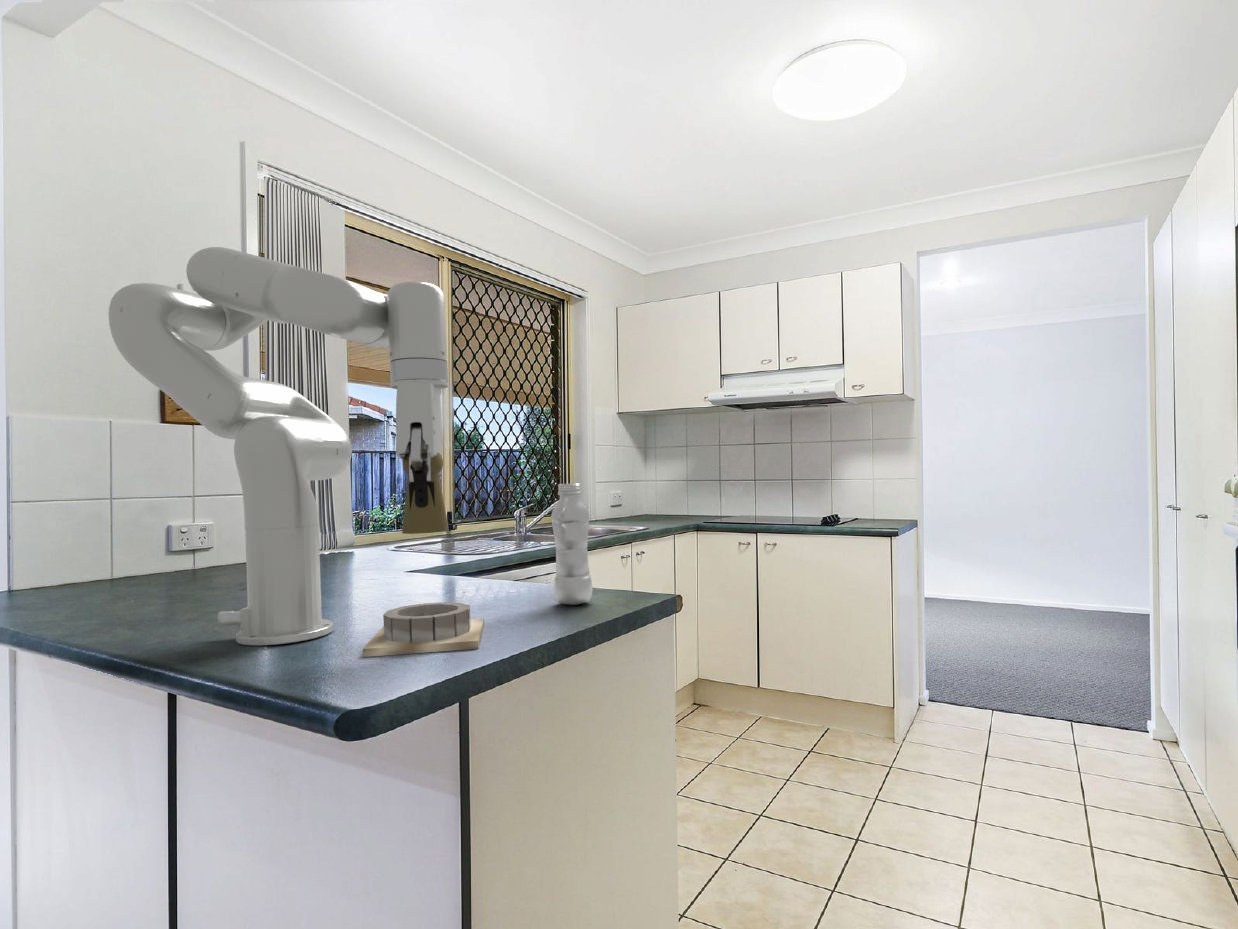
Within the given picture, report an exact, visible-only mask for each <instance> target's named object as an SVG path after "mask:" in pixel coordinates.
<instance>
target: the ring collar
mask: <svg viewBox="0 0 1238 929" xmlns="http://www.w3.org/2000/svg"><path fill="white" fill-rule="evenodd" d="M382 617H383V626H382V627H381V629H379V631H378V632H377V633H376V634H375V635H374V636H373V637H372V638H371V639H370V640H369V641H368V642H367V644H365V645H364V646H363V648H362V658H366V657H367V658H369V657H380V656H395V655H410V654H422V653H423V654H424V653H436V652H449V651H462V650H463V651H464V650H475V649H476V650H478V649H480V643H481V640H482V635H483V632H484V627H485V618H471V606H470V604H467V603H466V604H465V603H462V602H449V601H446V602H445V601H444V602H442V601H440V602H426V603H424V602H423V603H417V604H411V605H404V606H399V607H396V608H393V609H392V608H391V609H389V610H388V609H387V610H386V612H384V613H383V616H382Z"/></svg>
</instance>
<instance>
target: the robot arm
mask: <svg viewBox="0 0 1238 929" xmlns="http://www.w3.org/2000/svg"><path fill="white" fill-rule="evenodd" d="M185 272H186V279H187V281H188V283H189V285H190V287H191V289H193V290H194V292H195V293H193V292H191V291H186V290H184V289H179V288H176V287H172V286H168V285H164V284H159V283H158V284H157V283H151V282H142V283H141V282H140V283H137V282H136V283H131V284H129V285H125V286H123V287H121V288H120V289H118V290H117V291H116V292H115V293H114V294H113V296H112V298H110V299H111V300H110V303H109V306H108V323H109V330H110V334H111V336H112V339H113V342H114V344H115V346H116V348H117V350H118V351H119V353H120V354H121V356H122V357H123V358H124V360H125V361H126V362H127V363H128V364H129V365H130V366H131V367H132V368H133V369H134V370H135V371H136V372H137V373H138V374H139V375H141V376H142V378H145V379H146V380H147V381H148V382H150V383H151V384H152V385H154V386H155V387H157V388H158V390H160V391H161V392H162V393H164V394H165V395H166V396H168V397H169V398H170V399H171V400H172V401H173V402H174V403H175V404H176V405H177V406H179V407H180V408H181V409H183V410H184V412H186V413H187V414H188V415H190V416H191V417H192V418H193V419H194V420H195V421H197V422H198V423H200V425H201V426H202V427H204V428H205V429H207V430H208V432H211V434H213V435H215V436H217V437H218V438H223V439H228V440H233V441H234V445H233V453H234V460H235V464H236V465H235V466H236V469H237V472H238V477H239V480H240V485H241V492H242V499H243V500H242V502H243V512H244V531H245V533H244V534H245V561H246V563H245V564H246V594H247V606H245V607H243V608H241V609H239V610H238V611H237V610H236V611H235V610H229V611H225V610H223V611H219V612H218V614H217V618H216V619H217V624H218V625H219V626H220V627H230V626H231V627H232V626H238V627H239V628H240V629H239V630H238V631H237V632H236V634H235V641H236V643H238V644H239V645H245V646H273V645H274V646H275V645H284V644H291V643H298V642H302V641H308V640H313V639H317V638H320V637H324V636H326V635H328V634H331V633H332V632H333V631H334V622H333V621H332V620H330V619H326V618H323V617H322V616H323V615H322V613H323V612H322V594H321V593H322V590H321V585H322V584H321V583H322V582H321V563H320V562H321V558H320V555H321V554H320V553H321V552H320V529H319V526H320V525H319V512H318V511H319V510H318V505H317V501H316V498H315V495H314V492H313V490H312V488H311V485H310V483H309V482H310V481H325V480H329V479H333V478H335V477H338V476H339V475H340V474H342V473H343V472H344V471H346V469H347V468H348V466H349V465H350V463H351V459H352V453H353V452H352V449H353V448H352V444H351V440H350V438H349V436H348V434H347V432H346V431H345V430H344V428H343V427H342V426H341V425H340V424H339V423H338V422H337V421H336V420H334V419H333V418H331V416H329V415H328V414H326V412H324V411H323V410H321V409H320V408H319V407H318V406H316V405H315V404H314V403H313V402H311V401H310V400H308V399H307V398H306V397H305V396H304V395H302V394H301V393H299V392H298V391H297V390H295V389H293V388H291V387H290V386H288V385H285V384H282V383H280V382H276V381H271V380H270V381H269V380H264V379H261V378H260V379H259V378H253V377H248V376H245V375H244V376H243V375H241V374H238V373H236V372H234V371H232V370H231V369H230V368H228V367H226V365H224V364H222V363H221V362H220V361H219V360H217V359H216V358H215V356H213V355H212V354H211V353H209V351H210V352H211V351H219V350H223V349H225V348H227V347H230V346H231V345H233V344H235V343H236V342H238V341H239V340H240V339H242V338H244V337H245V336H247V335H248V334H250V333H252V332H253V331H255V330H256V329H258V328H260V327H261V326H263V325H264V324H266V323H267V322H268V321H271V322H273V323H278V324H280V325H281V324H283V325H284V324H291V325H295V326H298V327H300V328H301V327H302V328H304V329H308V330H312V331H315V332H317V333H321V334H324V335H327V336H331V337H335V338H339V339H344V340H346V341H351V342H354V343H357V344H360V345H364V346H367V347H371V348H376V349H383V348H386V349H387V348H389V350H388V352H389V374H390V375H389V377H390V388H391V389H393V390H396V399H395V401H396V402H395V403H396V404H395V454H396V457H397V458H398V459H400V460H402V461H403V460H405V458H404V456H405V455H406V454H409V480H410V483H409V499H410V509H411V503H412V498H413V492H414V489H415V505H416V506H417V507H425V506H427V505H428V486H429V488H430V492H431V495H432V499H433V503H434V506H435V489H434V482H432V470H431V458H434V457H435V456H437V453H438V452H439V453H440V454H441V455H442V443H443V442H442V439H443V438H442V437H443V436H442V435H443V434H442V406H441V405H442V404H441V390H443V389H447V388H449V371H448V370H449V368H448V367H449V366H448V349H447V347H448V345H447V342H448V341H447V323H446V318H447V317H446V301H445V294H444V293H443V292H444V291H442V289H441V288H440V287H439V286H437V285H435V284H433V283H428V282H424V281H403V282H399V283H396V284H393V285H392V286H391V287H390V288H389V290H388V292H387V293H382V292H379V291H375V290H373V289H371V288H368V287H366V286H364V285H362V284H359V283H356V282H354V281H350V280H348V279H345V278H343V277H339V276H336V275H333V274H326V273H324V272H319V271H316V270H312V269H308V268H305V267H300V266H297V265H293V264H289V263H286V262H281V261H277V260H273V259H271V258H270V259H269V258H266V257H262V256H259V255H256V254H251V253H248V252H244V251H240V250H236V249H232V248H228V247H221V246H212V247H211V246H209V247H206V248H202V249H200V250H197V251H196V252H195V253H194V254H193V255H192V256H190V258H189V259H188V262H187V264H186V271H185ZM207 351H208V352H207ZM408 452H409V453H408ZM422 453H427V456H428V458H422ZM426 466H427V467H426ZM426 469H427V470H426Z"/></svg>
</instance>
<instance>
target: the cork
mask: <svg viewBox="0 0 1238 929" xmlns="http://www.w3.org/2000/svg"><path fill="white" fill-rule="evenodd" d="M408 453H409V452H408ZM404 458H405V460H402V467H403V470H404V472H405V473H406V475H407V477H406V478H407V481H406V492H405V500H404V512H403V523H402V534H406V535H409V534H410V535H412V534H413V535H418V534H434V533H443V532H448V531H449V522H448V517H447V511H446V506H445V501H444V495H443V488H442V482H441V478H440V473H441V471H442V470H443V465H444V459H443V456H442V453H441V454H440V453H439V452H438V453H437V456H435V457H434V458H431V470H432V482H434V489H435V506H434V503H433V499H432V495H431V492H430V488H429V486H428V505H427V506H425V507H417V506H416V505H415V489H414V492H413V498H412V503H411V509H410V499H409V483H410V480H409V454H406V455H405V456H404ZM422 458H428V456H427V453H422ZM426 467H427V466H426ZM426 470H427V469H426Z"/></svg>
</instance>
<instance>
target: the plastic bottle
mask: <svg viewBox="0 0 1238 929" xmlns="http://www.w3.org/2000/svg"><path fill="white" fill-rule="evenodd" d="M557 490H558V492H557V495H558V496H559V499H558V501H557V502H556V504H555V505H554V508H553V509H552V511H551V516H550V520H551V527H552V531H553V537H554V547H555V576H554V582H553V594H554V597H555V598H554V599H556V601H557V603H559V604H563V605H567V606H577V605H581V604H584V603H588V602H589V601H590V600H591V598H592V596H593V589H594V588H593V581H592V580H593V579H592V577H591V573H590V572H591V571H590V566H589V565H590V564H589V557H588V546H589V545H588V544H589V543H588V538H589V537H588V536H589V535H588V534H589V528H590V527H589V526H590V513H589V510H588V508H587V507H586V505H585V503H584V502H583V501H582V500H581V498H580V495H582V493H581V492H582V491H581V484H580V483H559V484H558V486H557Z"/></svg>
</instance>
